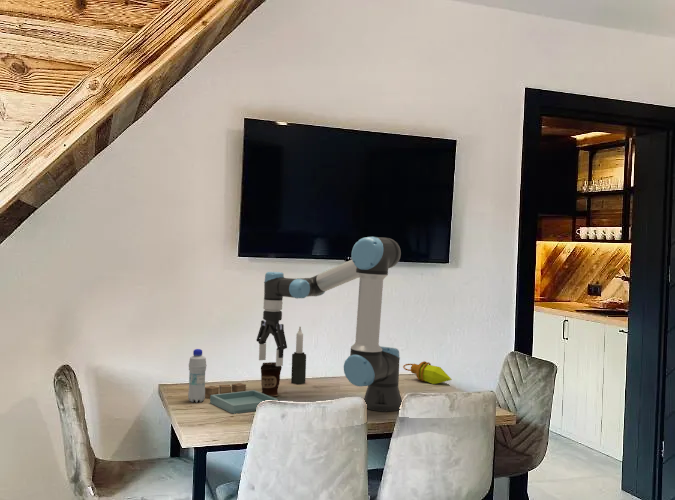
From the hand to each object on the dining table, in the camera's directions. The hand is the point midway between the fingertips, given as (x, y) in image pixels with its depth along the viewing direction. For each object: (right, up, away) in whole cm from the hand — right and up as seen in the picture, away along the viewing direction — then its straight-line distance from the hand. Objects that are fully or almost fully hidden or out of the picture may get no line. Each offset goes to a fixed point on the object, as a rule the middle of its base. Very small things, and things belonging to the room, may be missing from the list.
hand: (270, 362), depth 271 cm
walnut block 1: (-23, -13, -6) cm, 27 cm away
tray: (-8, -13, -18) cm, 24 cm away
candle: (+10, -13, +26) cm, 30 cm away
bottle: (-27, -13, -14) cm, 33 cm away
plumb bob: (+68, -15, +37) cm, 79 cm away
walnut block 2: (-18, -13, -3) cm, 22 cm away
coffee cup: (0, -13, 0) cm, 13 cm away
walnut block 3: (-13, -13, +1) cm, 18 cm away
